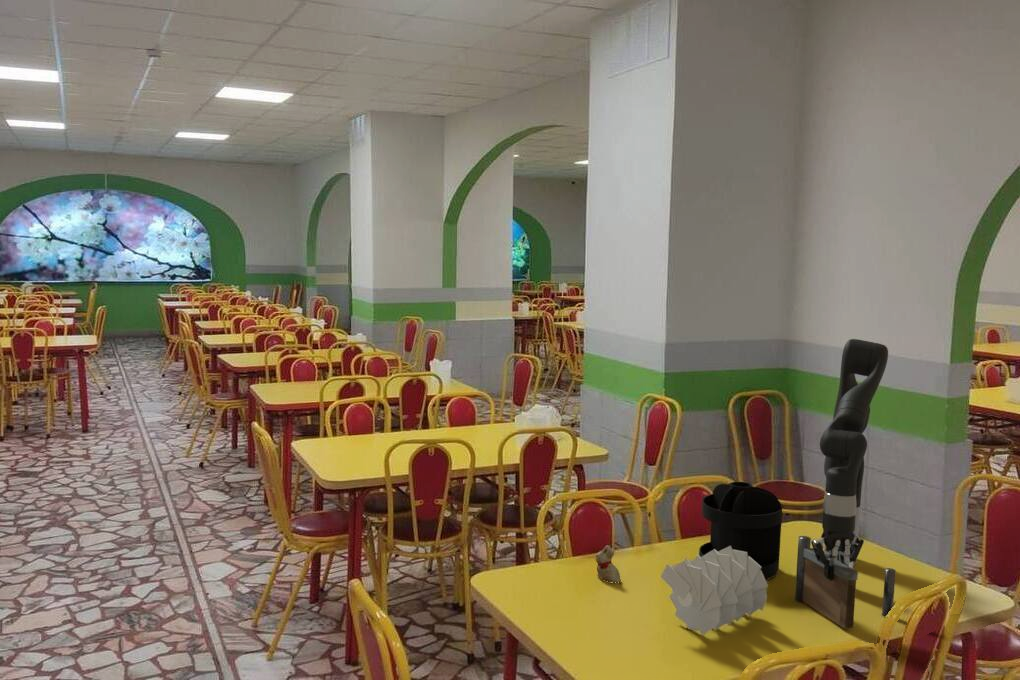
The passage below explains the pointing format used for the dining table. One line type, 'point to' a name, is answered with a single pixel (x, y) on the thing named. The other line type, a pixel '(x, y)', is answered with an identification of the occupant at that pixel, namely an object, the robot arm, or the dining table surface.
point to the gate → (830, 589)
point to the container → (745, 523)
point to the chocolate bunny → (607, 566)
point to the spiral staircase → (716, 588)
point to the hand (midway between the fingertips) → (835, 578)
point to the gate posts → (803, 544)
